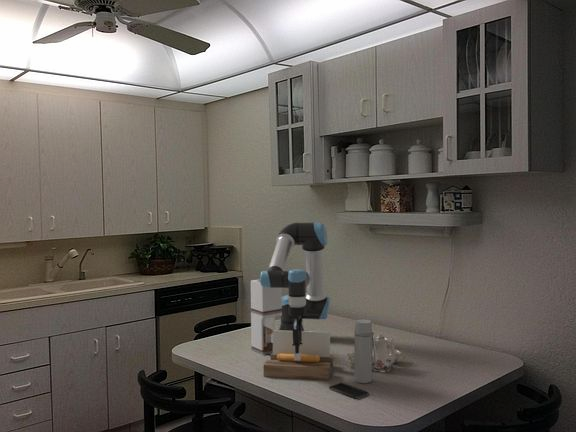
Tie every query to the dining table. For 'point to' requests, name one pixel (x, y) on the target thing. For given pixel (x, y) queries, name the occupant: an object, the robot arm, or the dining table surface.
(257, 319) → the wood-lined white cubby
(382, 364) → the chinaware
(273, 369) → the wooden tray
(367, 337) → the water bottle
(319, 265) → the robot arm
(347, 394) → the phone
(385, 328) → the dining table surface
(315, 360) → the orange rod
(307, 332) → the duct cover
